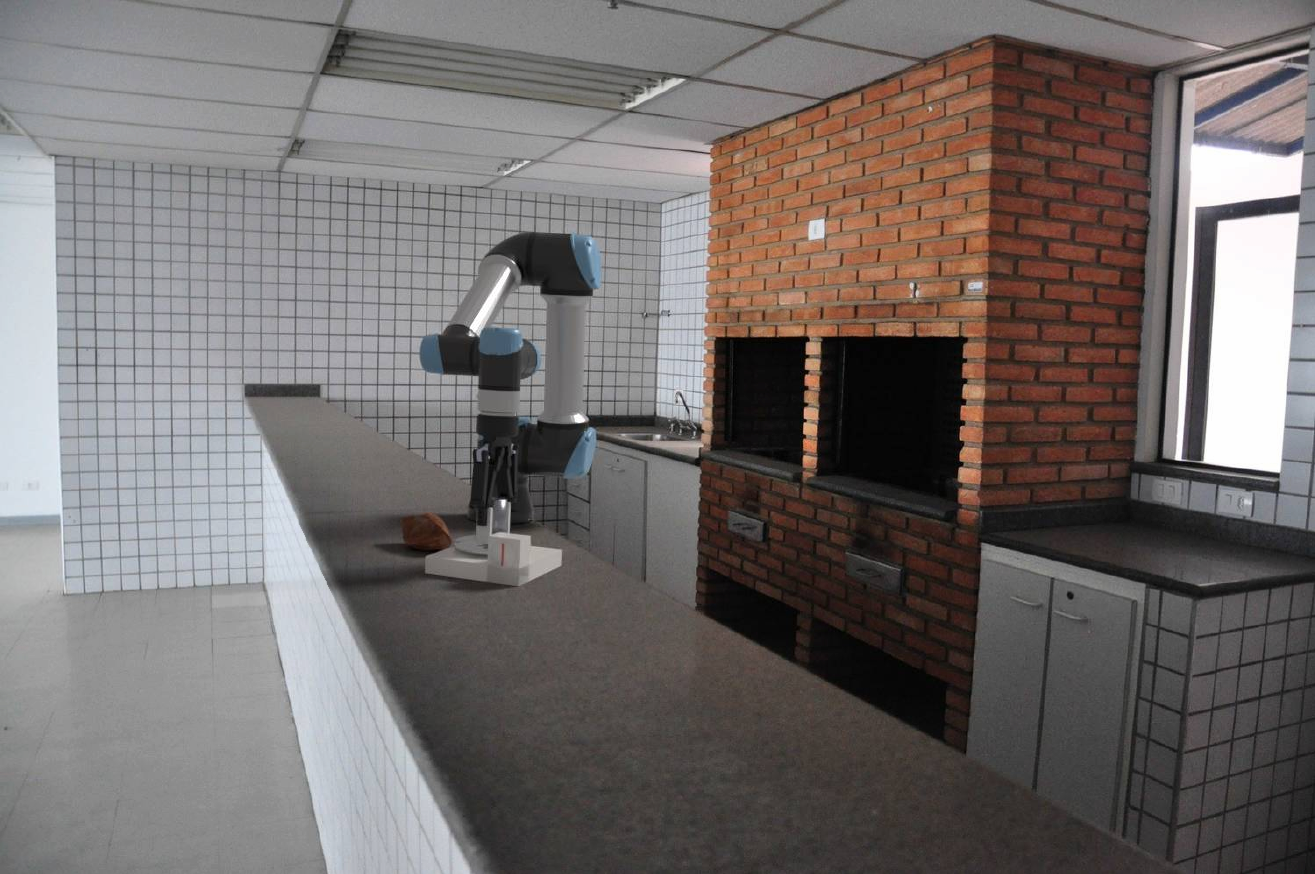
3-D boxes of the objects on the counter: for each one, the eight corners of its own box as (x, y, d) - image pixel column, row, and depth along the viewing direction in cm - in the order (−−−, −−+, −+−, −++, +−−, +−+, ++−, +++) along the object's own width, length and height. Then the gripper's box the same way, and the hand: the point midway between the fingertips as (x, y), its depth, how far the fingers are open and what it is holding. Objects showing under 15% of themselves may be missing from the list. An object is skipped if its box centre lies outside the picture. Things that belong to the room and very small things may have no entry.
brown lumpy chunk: (462, 538, 190) (435, 492, 190) (422, 560, 186) (395, 514, 186) (450, 548, 201) (425, 505, 201) (413, 569, 197) (388, 526, 198)
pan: (476, 539, 191) (476, 531, 191) (543, 548, 187) (544, 540, 187) (438, 552, 178) (438, 544, 178) (509, 562, 174) (510, 554, 174)
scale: (474, 554, 192) (476, 512, 191) (561, 565, 187) (563, 523, 186) (423, 573, 175) (425, 528, 174) (517, 587, 169) (519, 540, 168)
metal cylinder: (487, 538, 185) (489, 495, 185) (509, 541, 184) (511, 498, 183) (475, 543, 181) (477, 499, 180) (498, 546, 180) (500, 501, 179)
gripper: (503, 409, 190) (498, 529, 193) (452, 414, 172) (447, 547, 174) (540, 412, 188) (534, 533, 190) (491, 418, 170) (486, 552, 172)
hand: (492, 539), depth 182 cm, fingers open, 6 cm apart
